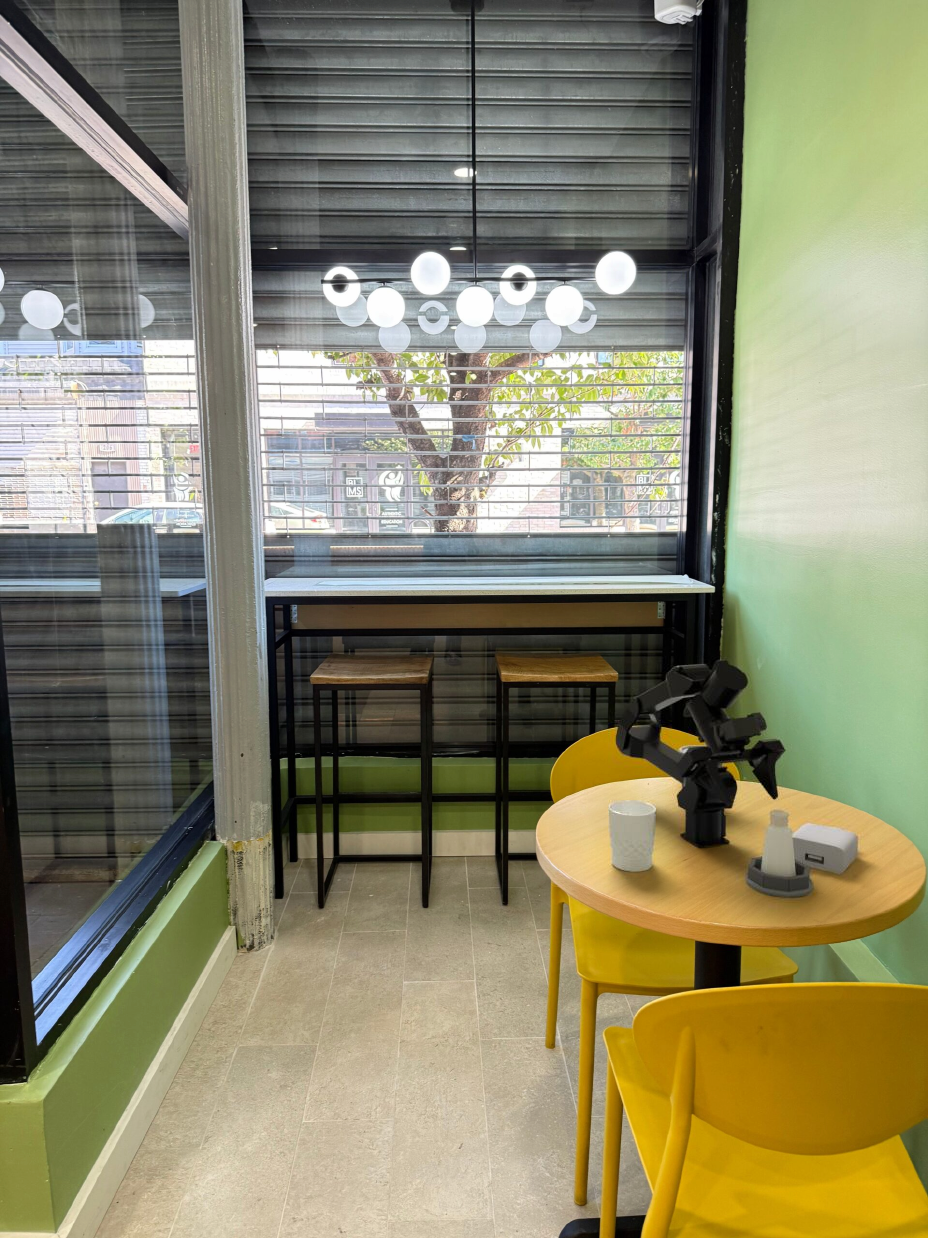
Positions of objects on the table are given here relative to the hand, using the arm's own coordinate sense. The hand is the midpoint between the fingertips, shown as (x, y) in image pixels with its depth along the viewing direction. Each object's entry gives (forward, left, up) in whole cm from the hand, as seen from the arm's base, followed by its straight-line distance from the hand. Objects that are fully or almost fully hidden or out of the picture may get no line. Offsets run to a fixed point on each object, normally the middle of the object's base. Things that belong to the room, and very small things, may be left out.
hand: (753, 801), depth 133 cm
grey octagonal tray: (0, -7, -12) cm, 13 cm away
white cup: (-18, +8, -12) cm, 23 cm away
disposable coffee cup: (+10, +29, -12) cm, 33 cm away
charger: (+16, +1, -12) cm, 20 cm away
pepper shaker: (0, -6, -11) cm, 13 cm away
